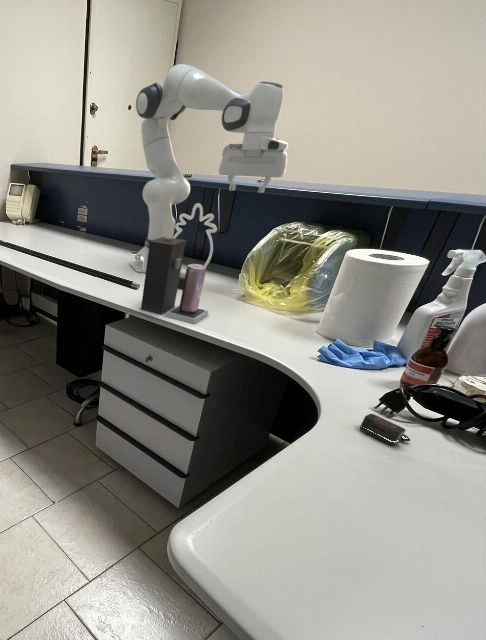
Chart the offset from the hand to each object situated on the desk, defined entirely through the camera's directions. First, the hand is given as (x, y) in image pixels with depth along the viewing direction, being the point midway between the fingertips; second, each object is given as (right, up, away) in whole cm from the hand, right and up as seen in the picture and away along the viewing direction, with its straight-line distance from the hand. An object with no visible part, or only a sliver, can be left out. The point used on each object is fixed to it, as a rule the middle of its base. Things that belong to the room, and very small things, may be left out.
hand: (245, 191), depth 137 cm
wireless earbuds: (0, -76, -56) cm, 94 cm away
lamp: (-10, -25, +32) cm, 41 cm away
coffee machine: (-23, -40, +5) cm, 46 cm away
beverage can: (-19, -40, +1) cm, 45 cm away
